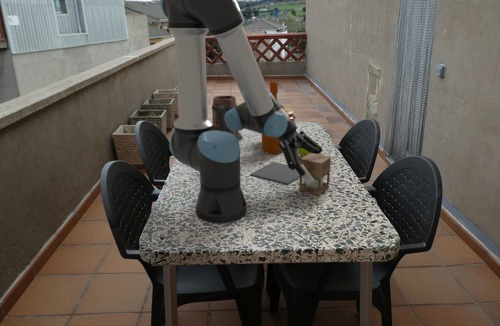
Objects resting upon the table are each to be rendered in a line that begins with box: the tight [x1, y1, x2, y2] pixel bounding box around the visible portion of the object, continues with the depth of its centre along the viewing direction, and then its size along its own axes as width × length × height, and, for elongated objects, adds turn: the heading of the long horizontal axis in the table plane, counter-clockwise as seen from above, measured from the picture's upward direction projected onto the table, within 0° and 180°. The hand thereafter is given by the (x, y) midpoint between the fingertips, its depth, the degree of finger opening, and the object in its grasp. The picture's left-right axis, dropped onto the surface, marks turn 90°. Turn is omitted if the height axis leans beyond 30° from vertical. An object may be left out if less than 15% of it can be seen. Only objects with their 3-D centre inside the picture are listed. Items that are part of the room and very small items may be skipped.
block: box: [304, 176, 325, 189], centre depth 132 cm, size 4×4×4 cm
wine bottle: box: [261, 80, 283, 155], centre depth 166 cm, size 10×10×30 cm
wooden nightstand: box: [298, 153, 332, 196], centre depth 130 cm, size 7×7×11 cm
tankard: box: [211, 95, 244, 142], centre depth 184 cm, size 24×17×20 cm
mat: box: [250, 161, 300, 186], centre depth 146 cm, size 16×16×1 cm
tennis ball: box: [297, 148, 310, 158], centre depth 162 cm, size 7×7×7 cm
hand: (320, 176), depth 130 cm, fingers open, 13 cm apart
